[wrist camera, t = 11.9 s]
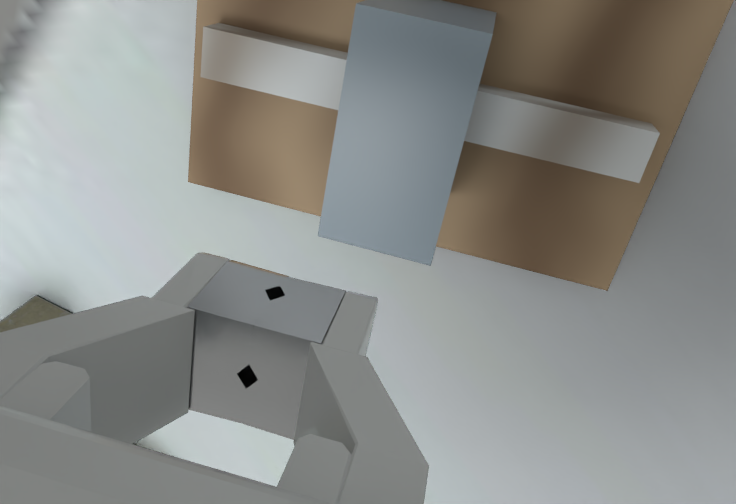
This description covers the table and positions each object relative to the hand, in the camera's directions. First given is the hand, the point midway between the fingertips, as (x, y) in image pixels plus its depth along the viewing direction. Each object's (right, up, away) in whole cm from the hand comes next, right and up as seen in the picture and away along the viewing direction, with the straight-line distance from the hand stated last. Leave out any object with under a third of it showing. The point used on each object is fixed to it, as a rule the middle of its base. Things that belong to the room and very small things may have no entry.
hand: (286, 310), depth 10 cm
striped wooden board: (+4, +8, +16) cm, 18 cm away
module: (+4, +7, +15) cm, 17 cm away
